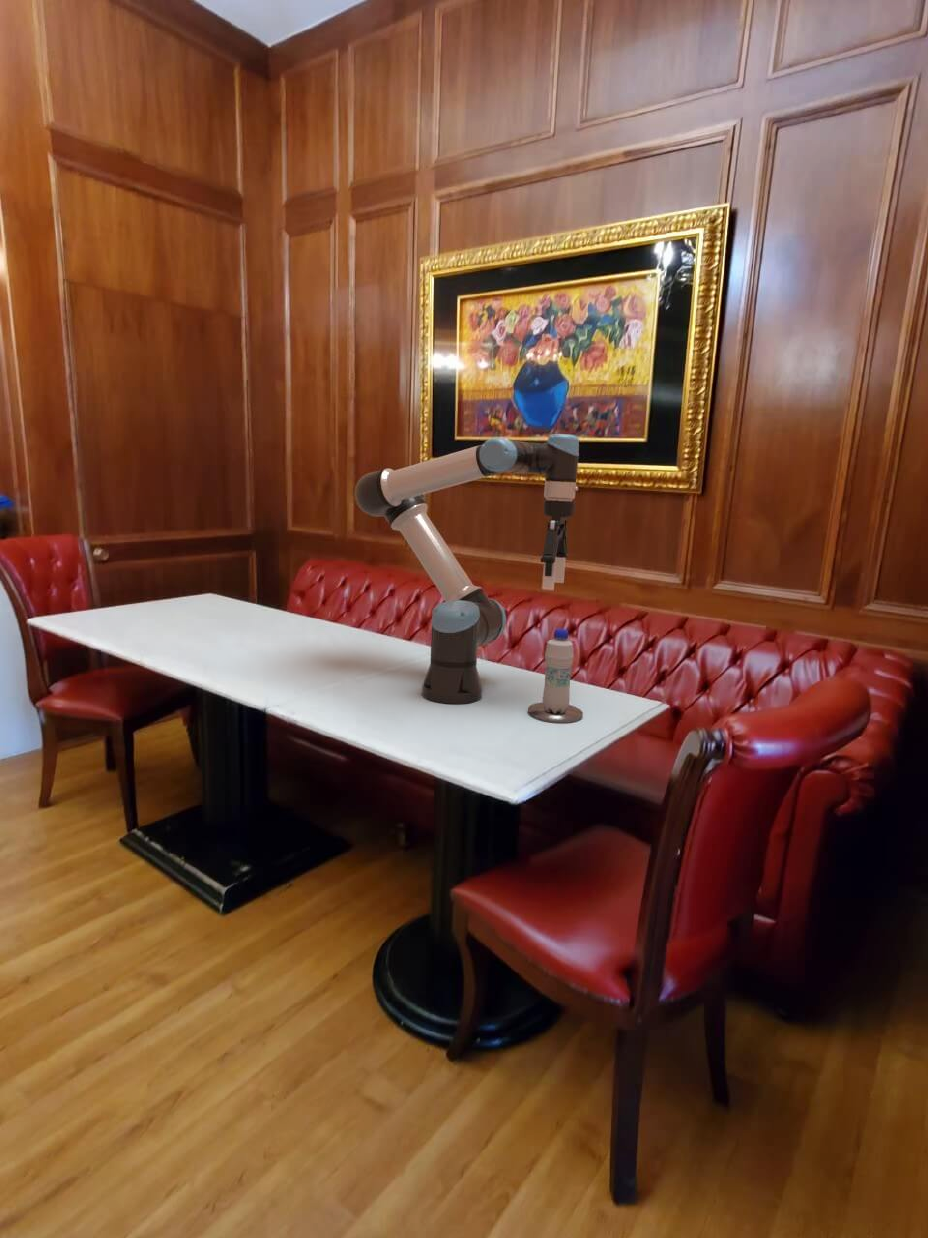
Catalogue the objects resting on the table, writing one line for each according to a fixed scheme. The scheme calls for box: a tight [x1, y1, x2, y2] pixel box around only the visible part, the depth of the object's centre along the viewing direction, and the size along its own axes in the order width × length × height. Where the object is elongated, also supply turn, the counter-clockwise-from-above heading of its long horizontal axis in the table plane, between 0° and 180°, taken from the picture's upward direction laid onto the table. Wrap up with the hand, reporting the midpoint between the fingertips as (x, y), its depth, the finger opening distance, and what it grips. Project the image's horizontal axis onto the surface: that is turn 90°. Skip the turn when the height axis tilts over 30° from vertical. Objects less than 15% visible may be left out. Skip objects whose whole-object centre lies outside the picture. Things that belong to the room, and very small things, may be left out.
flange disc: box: [527, 701, 584, 724], centre depth 167 cm, size 13×13×1 cm
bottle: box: [542, 628, 575, 713], centre depth 165 cm, size 7×7×20 cm
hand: (553, 586), depth 175 cm, fingers open, 13 cm apart
